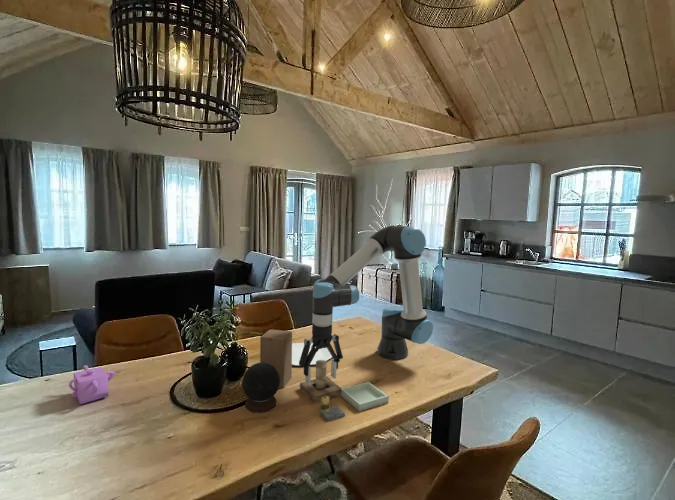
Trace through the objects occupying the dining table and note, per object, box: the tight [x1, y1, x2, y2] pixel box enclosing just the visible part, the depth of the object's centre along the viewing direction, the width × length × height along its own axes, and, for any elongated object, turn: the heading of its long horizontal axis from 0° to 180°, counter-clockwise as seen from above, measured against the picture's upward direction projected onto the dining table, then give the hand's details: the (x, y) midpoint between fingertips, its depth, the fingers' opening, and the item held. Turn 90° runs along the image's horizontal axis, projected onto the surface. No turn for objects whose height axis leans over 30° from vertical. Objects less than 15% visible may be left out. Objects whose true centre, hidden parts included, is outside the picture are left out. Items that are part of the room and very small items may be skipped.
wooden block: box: [259, 329, 293, 389], centre depth 145 cm, size 10×10×20 cm
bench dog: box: [320, 395, 331, 410], centre depth 127 cm, size 3×3×4 cm
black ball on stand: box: [241, 362, 280, 414], centre depth 128 cm, size 13×13×15 cm
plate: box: [292, 342, 333, 367], centre depth 174 cm, size 28×28×2 cm
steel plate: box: [319, 405, 346, 422], centre depth 123 cm, size 7×5×1 cm
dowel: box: [315, 360, 328, 390], centre depth 138 cm, size 4×4×12 cm
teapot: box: [68, 364, 115, 405], centre depth 131 cm, size 18×14×10 cm
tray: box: [340, 381, 390, 412], centre depth 134 cm, size 13×13×2 cm
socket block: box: [299, 375, 342, 404], centre depth 139 cm, size 12×12×2 cm
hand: (320, 379), depth 138 cm, fingers open, 10 cm apart
